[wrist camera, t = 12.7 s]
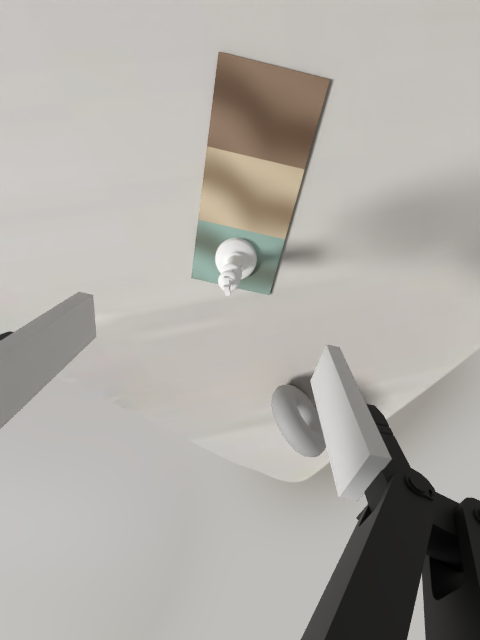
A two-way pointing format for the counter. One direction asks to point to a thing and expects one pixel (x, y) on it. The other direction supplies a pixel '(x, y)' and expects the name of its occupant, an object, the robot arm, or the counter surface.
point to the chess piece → (234, 263)
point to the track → (255, 162)
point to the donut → (298, 420)
